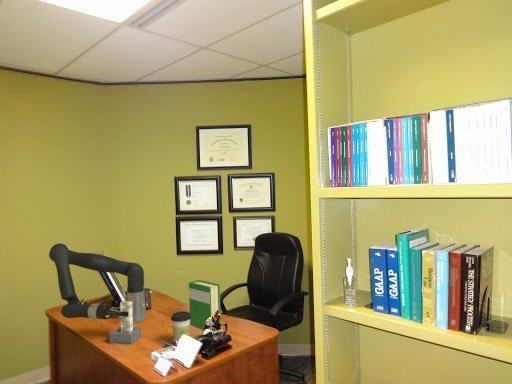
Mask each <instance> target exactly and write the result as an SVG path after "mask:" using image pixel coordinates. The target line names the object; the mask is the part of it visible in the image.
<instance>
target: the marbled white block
mask: <svg viewBox="0 0 512 384" xmlns="http://www.w3.org/2000/svg"><path fill="white" fill-rule="evenodd" d="M119 306H120V311H121V312H128V316H121V317H120V326H121V332H131V331H132V330H133V327H134V323H133V310H132V301H128V300H122V301H121V302H120V303H119Z"/></svg>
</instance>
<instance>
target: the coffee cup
mask: <svg viewBox="0 0 512 384" xmlns="http://www.w3.org/2000/svg"><path fill="white" fill-rule="evenodd" d="M190 318H191V315H190V311H177V312H174V313H172V315H171V317H170V320H171V324H172V325H171V327H172V333H173V339H174V342H175V341H177V342H178V341H179V339H180V338H181V336H182V335H183V334H185V335H187V336H189V337H190V332H191V331H190V330H191V325H190Z"/></svg>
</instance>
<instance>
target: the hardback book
mask: <svg viewBox="0 0 512 384" xmlns="http://www.w3.org/2000/svg"><path fill="white" fill-rule="evenodd" d="M188 294H189V295H188V297H189V298H188V301H189V302H188V303H189V304H188V305H189V313H190V315H191V318H190V326H193V327H195V328H197V329H201V330H203V329H204V325H205V321H206V320H207V319H208V318H209V317H211V316H213V315H214V314H215V312H216V311H217V310H218V311H219V313H220V319H219V322H220V324H221V325H222V317H221V315H222V313H221V311H222V309H221V285H220V284H219V283H217V282H216V283H215V282H210V281H207V280H201V279H196V280H193V281H189V282H188Z"/></svg>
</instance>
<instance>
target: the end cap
mask: <svg viewBox="0 0 512 384" xmlns="http://www.w3.org/2000/svg"><path fill="white" fill-rule="evenodd" d="M108 335H109V344H110V343H117V344H116V345H127V344H130V346H132V345H133V344H135V343H136V342H137V341H138V340H139V338H140V339H141V338H142V335H143V334H142V327H139V326H133V330H132V331H131V332H121V325H120V326H119V327H117V328H115V329H114V330H112V331H111V332H110V333H109V334H108ZM135 341H136V342H135Z"/></svg>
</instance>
